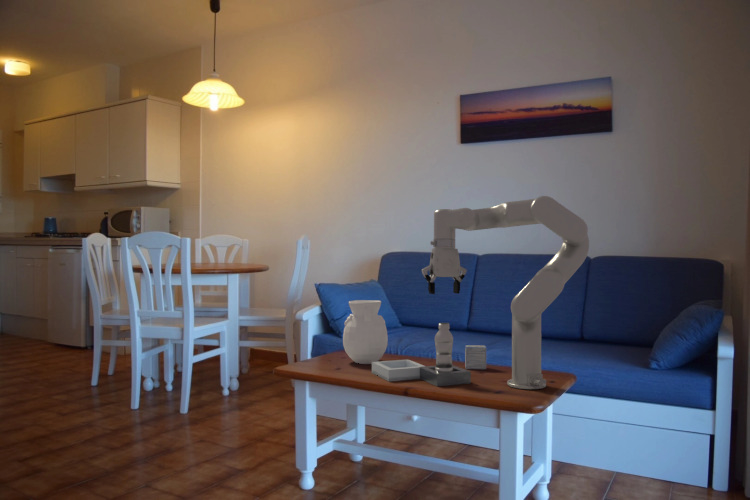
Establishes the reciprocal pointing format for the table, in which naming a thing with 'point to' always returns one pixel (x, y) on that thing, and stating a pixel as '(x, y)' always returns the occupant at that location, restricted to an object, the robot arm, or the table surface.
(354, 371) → the table surface
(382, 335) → the white vase
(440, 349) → the plastic bottle
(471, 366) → the grey upright block
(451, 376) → the dark grey storage bin
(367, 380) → the table surface
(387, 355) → the table surface
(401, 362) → the tray
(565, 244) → the robot arm
